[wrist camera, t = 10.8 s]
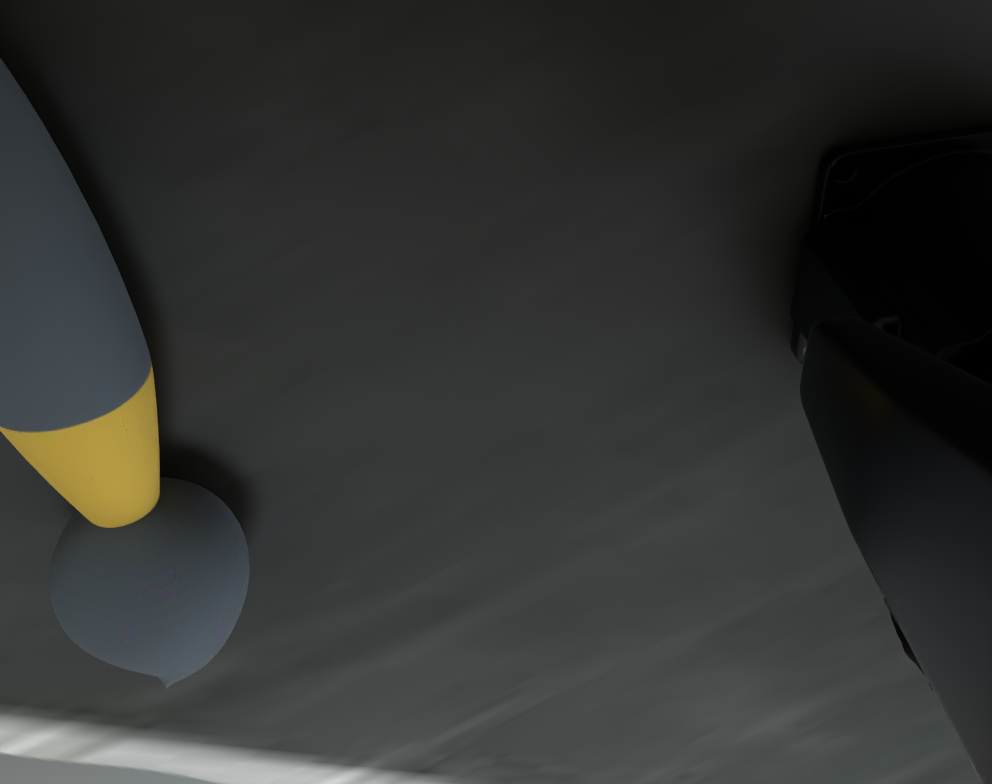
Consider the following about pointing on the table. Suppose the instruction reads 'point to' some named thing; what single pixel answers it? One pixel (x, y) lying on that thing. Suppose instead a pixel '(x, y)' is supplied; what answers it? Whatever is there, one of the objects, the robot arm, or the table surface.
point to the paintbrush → (101, 429)
